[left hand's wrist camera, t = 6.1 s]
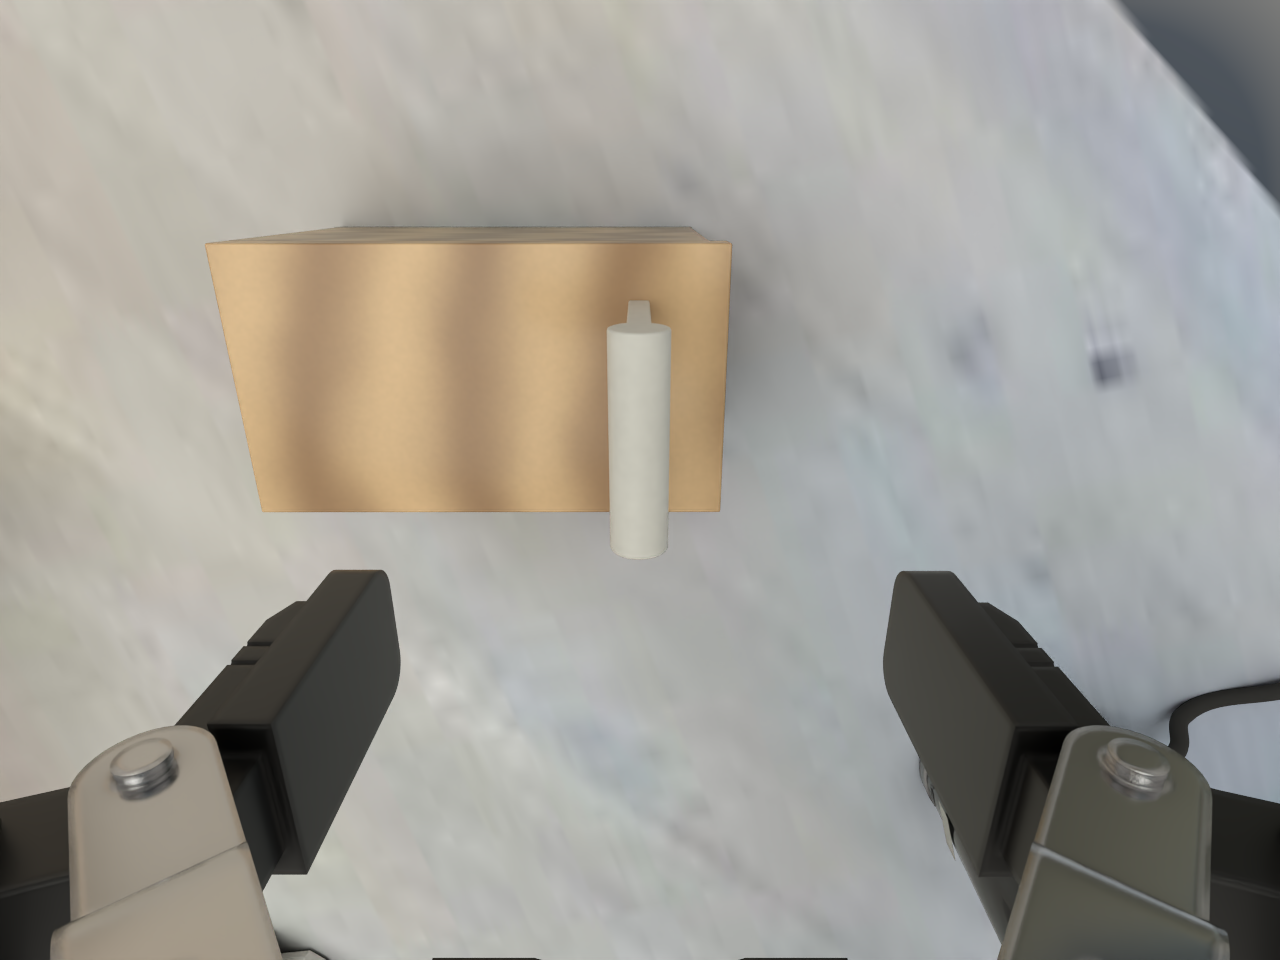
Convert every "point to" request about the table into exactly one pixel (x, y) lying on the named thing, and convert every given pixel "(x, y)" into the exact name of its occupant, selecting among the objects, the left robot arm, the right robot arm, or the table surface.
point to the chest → (490, 234)
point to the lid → (482, 376)
